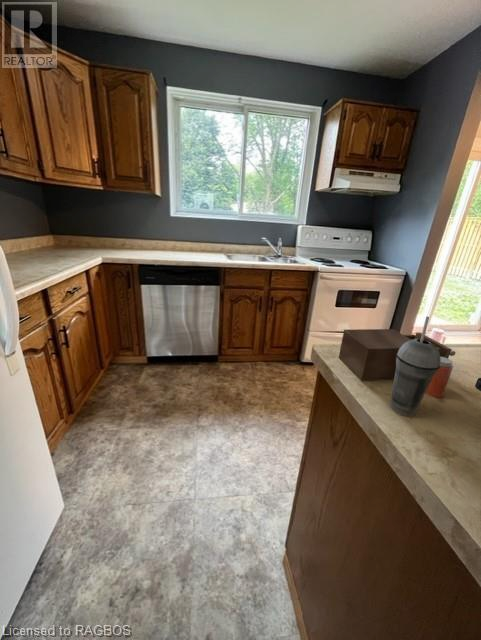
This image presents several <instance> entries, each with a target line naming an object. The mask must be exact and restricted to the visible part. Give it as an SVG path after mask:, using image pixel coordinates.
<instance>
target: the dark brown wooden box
mask: <svg viewBox="0 0 481 640" xmlns="http://www.w3.org/2000/svg"><path fill="white" fill-rule="evenodd" d="M410 340H411V339H409V338H407V337H406V336H404V335H402V333H401V332H399V331H397V330H395V329H394V328H374V329H373V328H371V329H370V328H367V329H366V328H365V329H364V328H363V329H362V328H361V329H359V328H358V329H343V333H342V339H341V343H340V349H339V354H338V359H339V360H340V361H341V362H342V363H343V364H344V365H345V366H346V367H347V368H348V369H349V370H350V371H351V372H352V374H354V375H355V376H356V377H357V378H358V380H360V381H362V382H363V381H385V380H387V381H389V380H394V377H395V371H396V358H397V357H396V354H397V353H398V351H399V349H400V348H401V346H402V345H403V344H404V343H406V342H408V341H410Z"/></svg>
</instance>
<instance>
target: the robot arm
mask: <svg viewBox="0 0 481 640" xmlns="http://www.w3.org/2000/svg"><path fill="white" fill-rule="evenodd" d="M474 388H475V389H476V390H477V391H479V392H481V377H478V378H477V379H476V382H475V385H474Z"/></svg>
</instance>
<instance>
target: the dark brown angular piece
mask: <svg viewBox="0 0 481 640" xmlns="http://www.w3.org/2000/svg"><path fill="white" fill-rule="evenodd" d="M401 334H402V333H401ZM402 335H404V336H406V337H407V338H409V339H411V340H414V339H421V336H422V332H416V333H415V334H413V333H410V334H408V333H405V334H402ZM424 340H426V341H428V342H430V343H432V344H433V345H434V346H435V347H436V348H437V349H438V351H439V353H440V357H445V358H448V359H450V358H449V357H454V356H456V351H455V350H454V349H452V348H450V347H448V346H447V345H444V344H443V343H442V342H439V341H437V340H436V339H433V338H432V337H430V336H427V335H426V334H425V336H424Z"/></svg>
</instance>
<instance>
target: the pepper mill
mask: <svg viewBox="0 0 481 640" xmlns="http://www.w3.org/2000/svg"><path fill="white" fill-rule="evenodd" d="M453 369H454V366H453V360H451V359H450V358H445V357H441V361H440V368H439V369H438V370H437V372H436V374H435V375H434V377H432V380H431V382H430V384H429V386H428V388H427V390H426V392H425V394H426V395H428V396H430V397H433V398H443V396H444V394H445V391H446V388H447V386H448V383H449V380H450V378H451V376H452V372H453Z"/></svg>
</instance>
